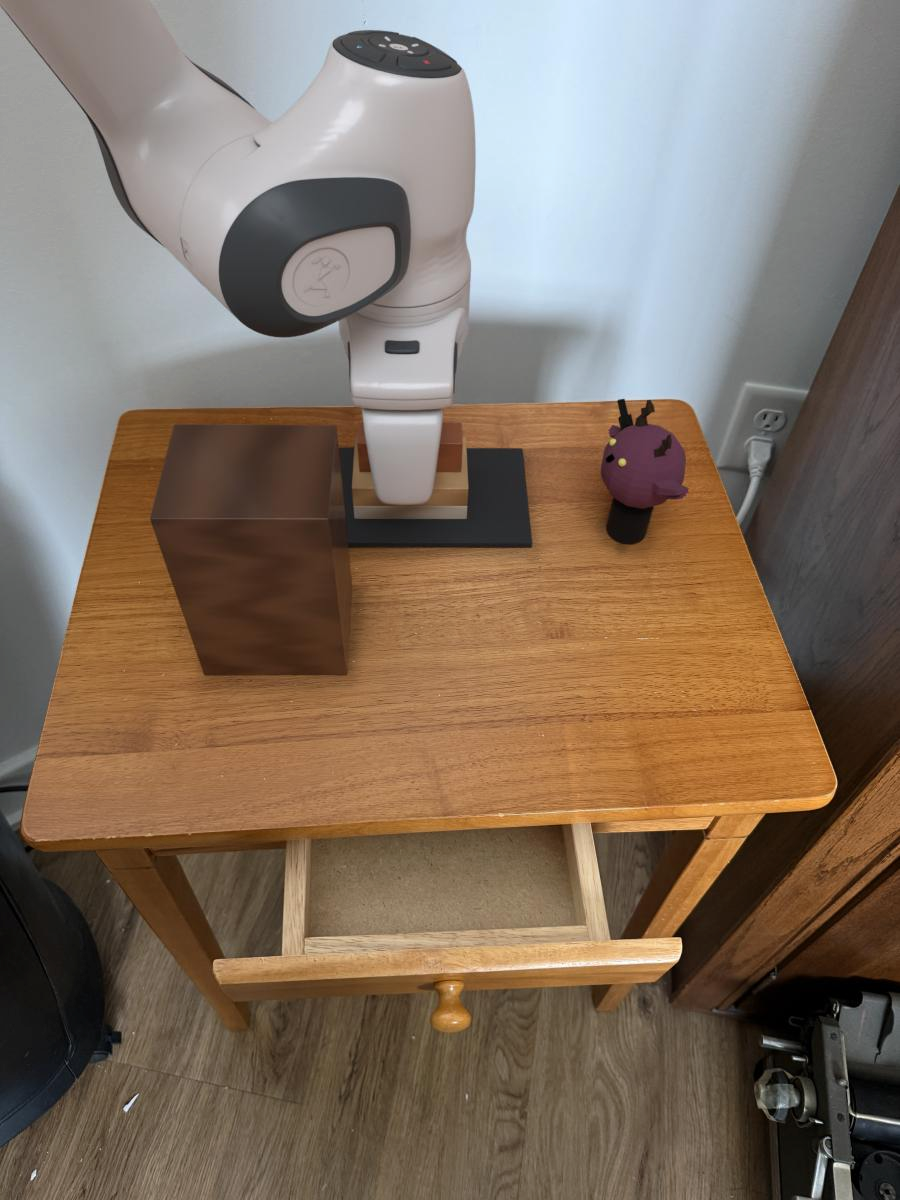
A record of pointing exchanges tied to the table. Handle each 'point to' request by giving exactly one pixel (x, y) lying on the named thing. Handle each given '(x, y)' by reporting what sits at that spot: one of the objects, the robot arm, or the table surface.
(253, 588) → the riser
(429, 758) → the table surface
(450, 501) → the stepped wooden block
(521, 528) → the mat
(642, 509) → the figurine
